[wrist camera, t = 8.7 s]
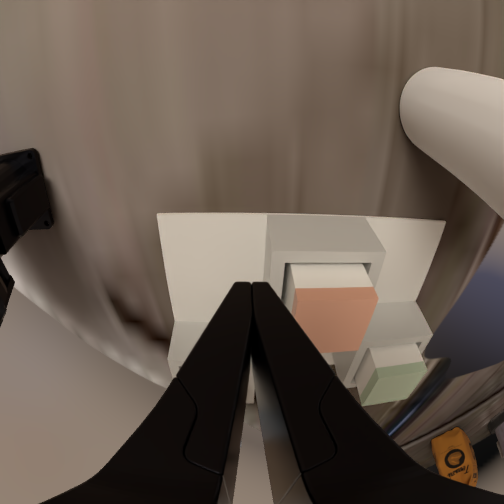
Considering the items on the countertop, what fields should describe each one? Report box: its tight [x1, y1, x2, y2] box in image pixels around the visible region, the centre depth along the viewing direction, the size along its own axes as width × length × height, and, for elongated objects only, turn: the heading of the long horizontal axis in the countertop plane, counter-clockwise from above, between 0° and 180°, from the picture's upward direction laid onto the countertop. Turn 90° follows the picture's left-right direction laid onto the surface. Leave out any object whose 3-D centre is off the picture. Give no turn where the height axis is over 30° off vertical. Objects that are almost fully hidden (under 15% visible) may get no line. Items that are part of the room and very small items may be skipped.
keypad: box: [157, 213, 446, 403], centre depth 25 cm, size 22×18×4 cm
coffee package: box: [431, 427, 478, 487], centre depth 47 cm, size 10×12×22 cm
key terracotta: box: [281, 263, 379, 353], centre depth 20 cm, size 5×5×6 cm
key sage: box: [354, 343, 428, 406], centre depth 25 cm, size 5×5×6 cm
